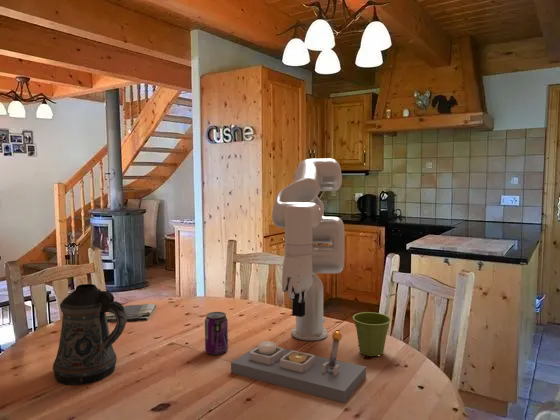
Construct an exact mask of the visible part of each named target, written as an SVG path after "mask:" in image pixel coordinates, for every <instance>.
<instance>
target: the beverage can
mask: <svg viewBox="0 0 560 420" xmlns="http://www.w3.org/2000/svg"><path fill="white" fill-rule="evenodd" d="M205 316H206V317H205V319H204V345H205V346H204V351H205V352H206V353H208V354H209V355H213V356H216V355H222V354H224V353H225V352H227V351H228V349H229V343H228V342H229V339H228V337H229V335H228V334H229V332H228V329H229V327H228V325H229V324H228V323H229V322H228V320H229V319H228V317H227V313H226V312H224V311H212V312H208V313H206V315H205Z"/></svg>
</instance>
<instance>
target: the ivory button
mask: <svg viewBox="0 0 560 420" xmlns="http://www.w3.org/2000/svg"><path fill="white" fill-rule="evenodd" d="M257 346H258V352H259V353H260V354H264V355H270V354H273V353H275V352H276V347H277V344H276V343H275V342H273V341H268V340H267V341H266V340H265V341H261V342H259V343H258V345H257Z"/></svg>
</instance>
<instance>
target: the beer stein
mask: <svg viewBox="0 0 560 420" xmlns="http://www.w3.org/2000/svg"><path fill="white" fill-rule="evenodd" d="M123 306H124V305H122V304H121V302H119V301H116V300H115V297H114V294H113V293H112V292H110V291H107V290H106V291H105V290H101V289H99V288H98V287H97V285H96V284H93V283H86V284H85V283H83V284H79V285H76V287H75V289H74V291H72V292H70V294H68V295H67V296H66V297H65V298H63V300H62V301H61V302H60V304H59V308H60V311H61V312H62V319H61V320H62V322H61V329H60V330H61V331H60V336H59V338H60V339H59V344H58V349H57V354H56V356H55V359H54V360H53V361H54V362H53V364H52V370H53V373H54V378H55V380H56V382H57V383H59V384H62V385H65V386H82V385H88V384H89V385H90V384H94V383H95V382H99V381H102V380H104V379H105V378H108V377H109V376H111V375H112V374H113V373H114V372H115V370H116V365H117V359H118V358H117V354H116V352H115V349H114V348H113V344H114V343H116V341H117V340H118V339H119V337H121V335H122V334H123V332H124V330H125V327H126V324H127V322H126V319H127V317H126V312H125V310H124V307H123ZM110 312H111V313H113V314H114V315H115V317H116V320H117V322H116V324H115V326H114V329H113V330H112V332H111V333H110V330H109V322H107V317H106V316H107V313H110Z"/></svg>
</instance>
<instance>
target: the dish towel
mask: <svg viewBox="0 0 560 420" xmlns="http://www.w3.org/2000/svg"><path fill="white" fill-rule="evenodd" d="M122 306H123V307H124V310H125V312H126V317H127V319H126V323H128V322H129V323H130V322H140V321H141V322H143V321H145V322H147V321H148V320H149V319H150V317H151V316H152V314H153V313H154V311H155V309H156V308H157V304H155V303H146V304H145V303H144V304H131V305H130V304H129V305H122ZM106 317H107V322H108V323H117V320H116V317H115V315H114V314H113V313H111V312H108V313H107V314H106Z"/></svg>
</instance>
